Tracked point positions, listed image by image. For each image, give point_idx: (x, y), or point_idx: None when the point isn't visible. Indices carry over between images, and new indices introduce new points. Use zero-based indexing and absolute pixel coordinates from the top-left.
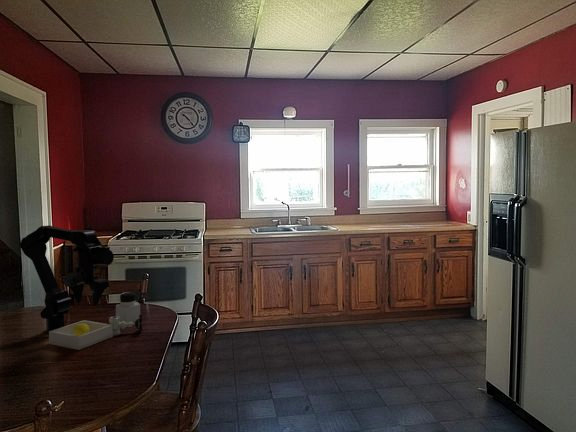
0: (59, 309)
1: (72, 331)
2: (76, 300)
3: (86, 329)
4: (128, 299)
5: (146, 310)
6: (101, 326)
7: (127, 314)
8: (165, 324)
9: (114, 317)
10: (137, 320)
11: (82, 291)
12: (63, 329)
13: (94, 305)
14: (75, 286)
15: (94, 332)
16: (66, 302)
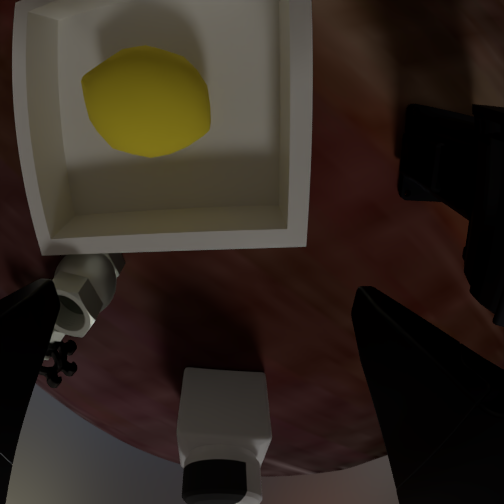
0: (482, 154)
1: (281, 120)
2: (390, 298)
3: (86, 106)
4: (188, 476)
5: (266, 457)
6: (110, 229)
7: (180, 405)
8: (71, 396)
9: (85, 323)
10: (55, 359)
11: (389, 450)
12: (287, 46)
13: (36, 281)
14: (499, 482)
15: (17, 113)
16: (499, 263)
